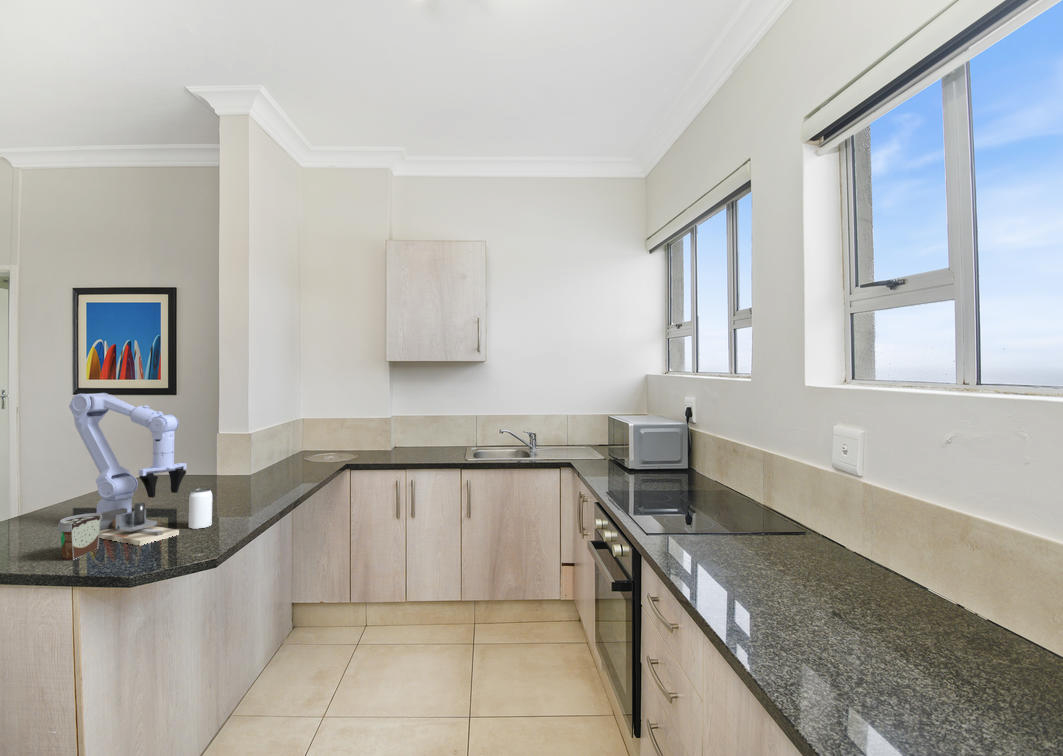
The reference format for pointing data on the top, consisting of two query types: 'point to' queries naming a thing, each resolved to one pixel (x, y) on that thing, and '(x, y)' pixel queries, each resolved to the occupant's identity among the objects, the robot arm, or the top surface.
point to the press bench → (132, 537)
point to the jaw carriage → (134, 519)
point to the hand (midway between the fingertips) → (163, 494)
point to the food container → (79, 534)
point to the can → (200, 508)
